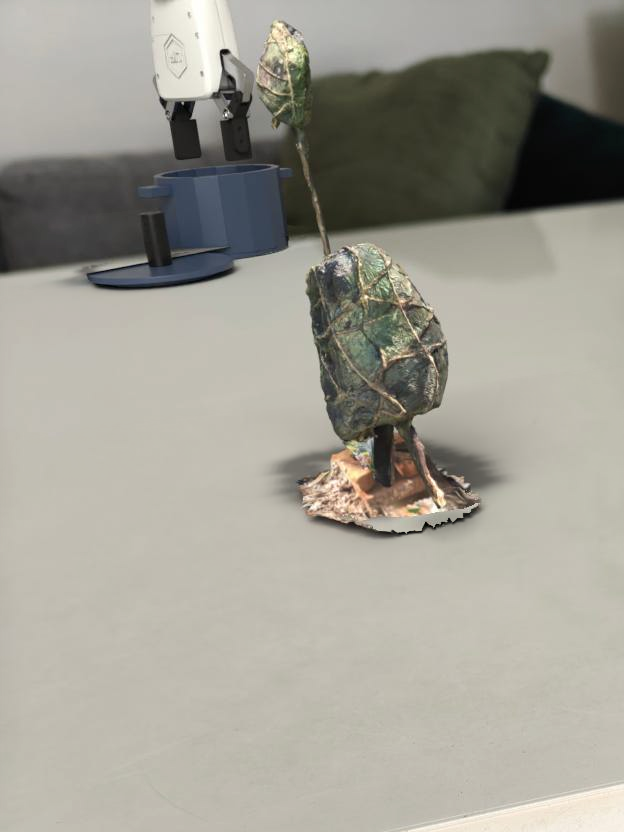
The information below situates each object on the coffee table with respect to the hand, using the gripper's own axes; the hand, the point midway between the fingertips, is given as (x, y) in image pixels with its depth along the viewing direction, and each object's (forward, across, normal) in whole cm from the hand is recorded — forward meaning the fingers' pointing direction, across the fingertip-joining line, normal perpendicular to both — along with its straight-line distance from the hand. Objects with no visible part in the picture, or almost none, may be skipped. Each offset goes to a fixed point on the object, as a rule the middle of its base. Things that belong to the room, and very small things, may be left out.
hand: (213, 159), depth 124 cm
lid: (+9, +8, -14) cm, 18 cm away
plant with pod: (+10, +77, -46) cm, 90 cm away
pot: (+10, 0, 0) cm, 10 cm away
